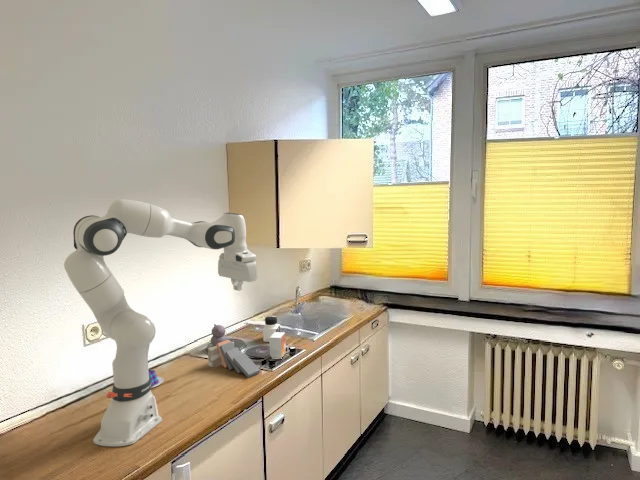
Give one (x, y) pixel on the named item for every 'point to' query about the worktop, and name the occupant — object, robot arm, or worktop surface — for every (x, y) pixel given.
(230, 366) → the domino
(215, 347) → the stop
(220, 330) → the cat figurine
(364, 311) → the worktop surface
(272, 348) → the small box
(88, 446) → the worktop surface
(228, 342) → the end domino
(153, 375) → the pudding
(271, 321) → the medicine bottle
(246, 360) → the domino
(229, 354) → the domino
